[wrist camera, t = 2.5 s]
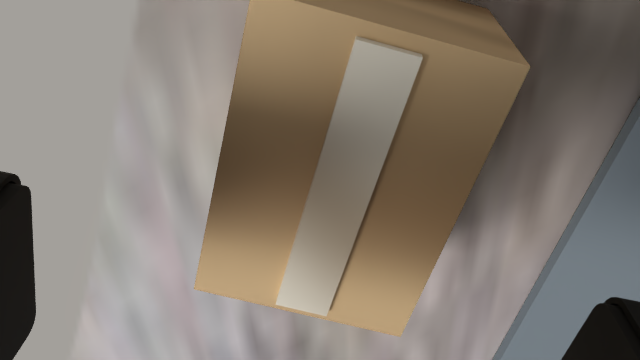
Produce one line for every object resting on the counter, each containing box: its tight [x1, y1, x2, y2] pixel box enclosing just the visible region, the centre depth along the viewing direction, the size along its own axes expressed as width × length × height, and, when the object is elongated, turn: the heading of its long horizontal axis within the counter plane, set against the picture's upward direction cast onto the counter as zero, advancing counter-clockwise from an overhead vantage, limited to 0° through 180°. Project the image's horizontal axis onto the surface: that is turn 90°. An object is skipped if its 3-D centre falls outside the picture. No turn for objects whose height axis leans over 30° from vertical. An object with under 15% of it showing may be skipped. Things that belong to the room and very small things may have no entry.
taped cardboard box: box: [194, 0, 531, 337], centre depth 13 cm, size 7×5×4 cm
